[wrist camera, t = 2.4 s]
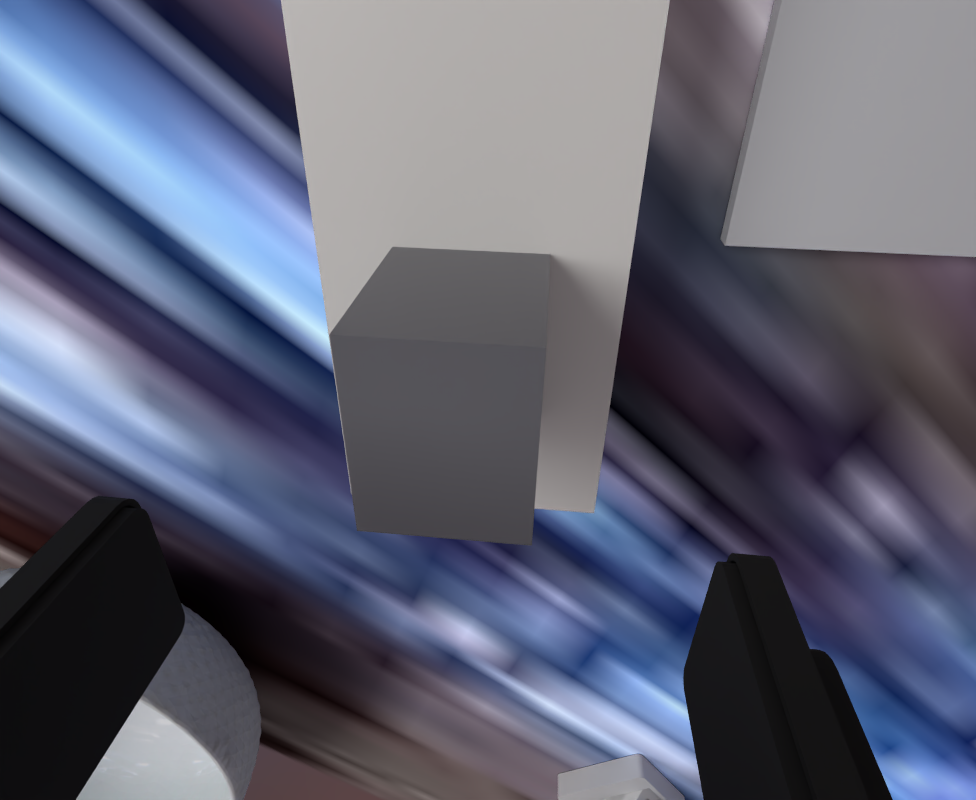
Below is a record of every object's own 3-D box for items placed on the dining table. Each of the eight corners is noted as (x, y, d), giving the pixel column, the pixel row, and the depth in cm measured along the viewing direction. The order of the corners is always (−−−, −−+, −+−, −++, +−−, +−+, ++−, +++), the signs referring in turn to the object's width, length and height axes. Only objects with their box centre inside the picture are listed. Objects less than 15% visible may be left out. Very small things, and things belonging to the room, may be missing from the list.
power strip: (256, -741, 10) (97, -1133, 7) (751, -782, 9) (861, -1236, 6) (378, 432, 23) (346, 506, 20) (589, 447, 22) (594, 526, 19)
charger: (407, 225, 17) (328, 335, 11) (551, 231, 17) (546, 347, 11) (416, 379, 20) (357, 530, 14) (540, 387, 19) (531, 545, 14)
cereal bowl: (304, 738, 36) (254, 880, 30) (35, 695, 37) (-67, 827, 31) (281, 538, 27) (203, 687, 21) (-79, 483, 27) (-256, 614, 21)
